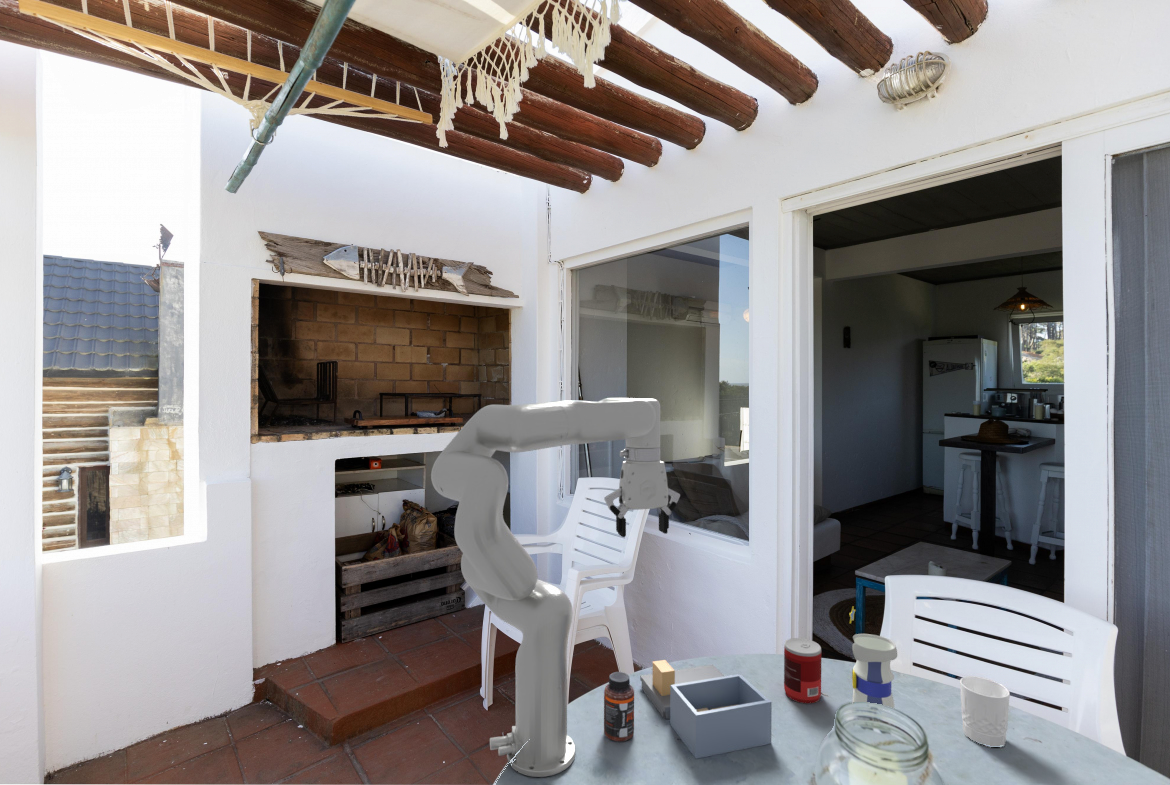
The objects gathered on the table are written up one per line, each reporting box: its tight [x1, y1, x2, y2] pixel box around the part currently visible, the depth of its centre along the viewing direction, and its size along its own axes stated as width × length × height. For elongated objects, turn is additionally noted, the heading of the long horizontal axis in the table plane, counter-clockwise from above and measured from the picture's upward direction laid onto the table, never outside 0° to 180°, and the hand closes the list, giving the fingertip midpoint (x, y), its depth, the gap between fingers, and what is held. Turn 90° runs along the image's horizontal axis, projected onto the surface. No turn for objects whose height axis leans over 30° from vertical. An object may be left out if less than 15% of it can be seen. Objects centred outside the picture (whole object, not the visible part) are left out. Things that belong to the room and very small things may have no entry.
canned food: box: [783, 637, 822, 704], centre depth 125 cm, size 8×8×11 cm
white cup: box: [959, 675, 1011, 746], centre depth 110 cm, size 8×8×10 cm
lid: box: [639, 659, 725, 720], centre depth 124 cm, size 18×13×8 cm
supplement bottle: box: [603, 671, 635, 742], centre depth 111 cm, size 6×6×11 cm
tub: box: [669, 673, 773, 760], centre depth 111 cm, size 16×11×8 cm
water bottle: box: [849, 606, 898, 709], centre depth 108 cm, size 8×9×25 cm
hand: (642, 533), depth 122 cm, fingers open, 9 cm apart
